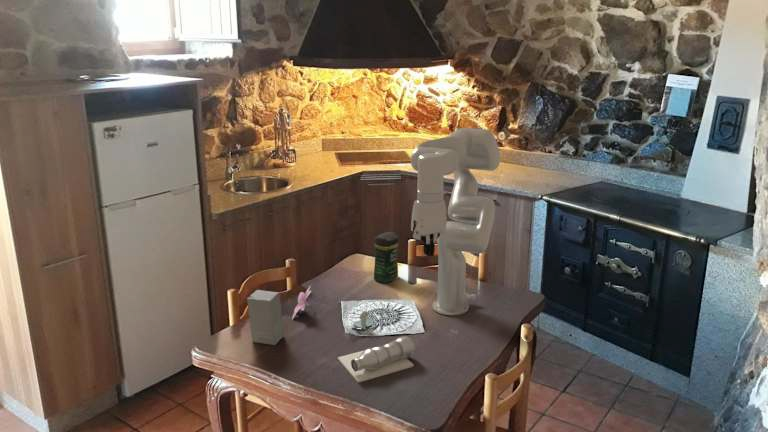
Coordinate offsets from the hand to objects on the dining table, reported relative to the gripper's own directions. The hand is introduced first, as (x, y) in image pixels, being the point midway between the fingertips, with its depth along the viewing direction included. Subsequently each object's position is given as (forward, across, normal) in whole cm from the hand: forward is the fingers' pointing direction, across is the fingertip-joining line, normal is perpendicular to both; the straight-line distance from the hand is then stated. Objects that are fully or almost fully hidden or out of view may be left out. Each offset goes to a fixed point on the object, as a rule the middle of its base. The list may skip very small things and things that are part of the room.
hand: (428, 254), depth 184 cm
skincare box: (+29, +44, -25) cm, 58 cm away
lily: (+30, +27, -36) cm, 54 cm away
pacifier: (+30, +14, -18) cm, 38 cm away
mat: (+29, +20, +4) cm, 36 cm away
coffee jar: (+30, -13, -49) cm, 59 cm away
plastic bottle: (+25, +9, +5) cm, 27 cm away
